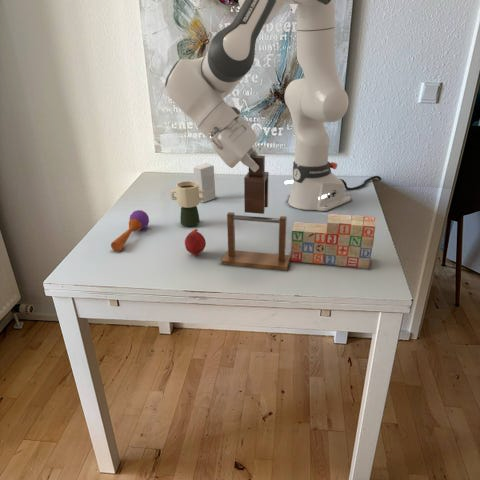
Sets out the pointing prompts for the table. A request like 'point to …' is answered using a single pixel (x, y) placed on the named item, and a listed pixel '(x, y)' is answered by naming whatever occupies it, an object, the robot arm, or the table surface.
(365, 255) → the stack of blocks
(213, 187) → the cosmetic box
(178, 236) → the table surface
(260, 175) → the brown stepped block
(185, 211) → the character mug
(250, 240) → the table surface
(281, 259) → the rail
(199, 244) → the onion
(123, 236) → the kendama
